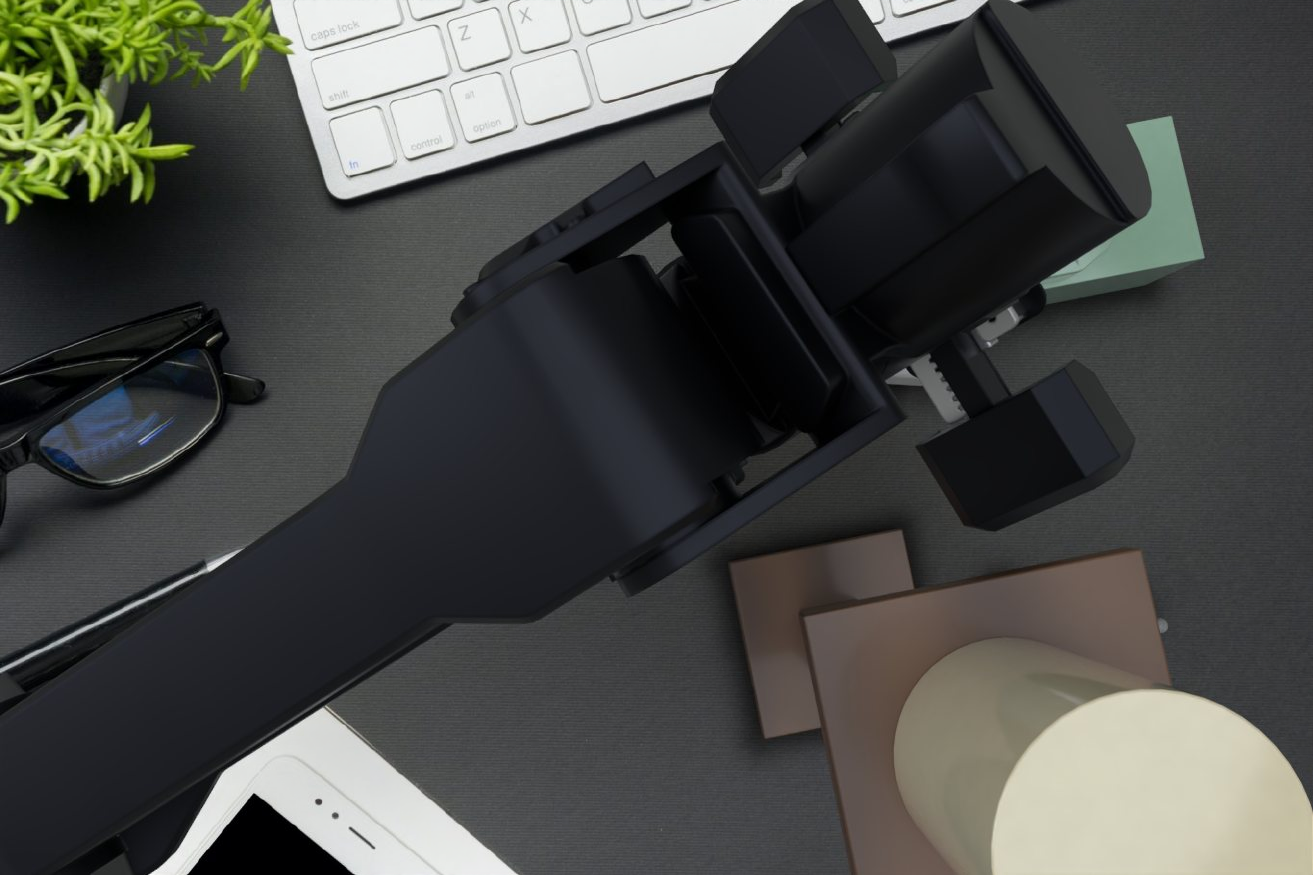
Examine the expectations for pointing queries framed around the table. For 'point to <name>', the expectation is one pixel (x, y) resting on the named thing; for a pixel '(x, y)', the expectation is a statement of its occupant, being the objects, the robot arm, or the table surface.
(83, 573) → the table surface
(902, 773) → the cream cylinder
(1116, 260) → the green rectangular block
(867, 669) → the stand
